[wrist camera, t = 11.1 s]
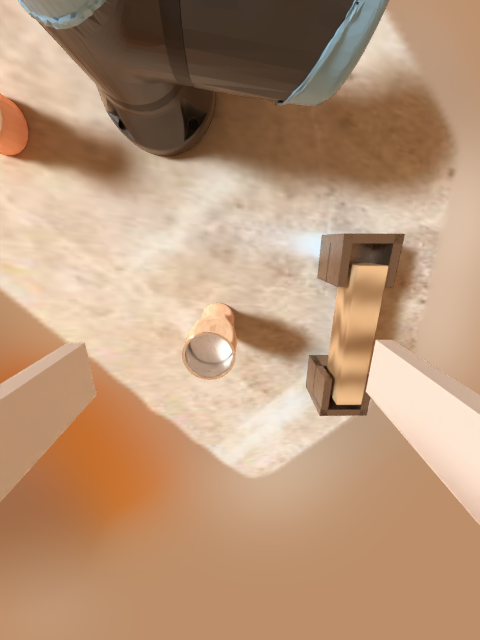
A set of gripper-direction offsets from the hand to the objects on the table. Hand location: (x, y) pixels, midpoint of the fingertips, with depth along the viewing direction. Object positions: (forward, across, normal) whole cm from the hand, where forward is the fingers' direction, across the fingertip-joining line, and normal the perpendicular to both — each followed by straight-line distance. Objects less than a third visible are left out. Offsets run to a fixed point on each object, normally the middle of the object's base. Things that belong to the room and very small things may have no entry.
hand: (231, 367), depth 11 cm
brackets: (+32, +18, -8) cm, 37 cm away
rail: (+28, +18, -9) cm, 34 cm away
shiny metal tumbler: (+32, -3, -8) cm, 33 cm away
